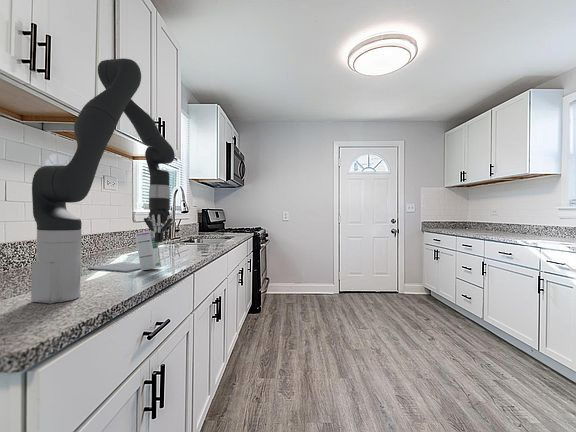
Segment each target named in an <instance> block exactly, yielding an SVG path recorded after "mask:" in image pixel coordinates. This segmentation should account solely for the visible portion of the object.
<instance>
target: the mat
mask: <svg viewBox="0 0 576 432" xmlns="http://www.w3.org/2000/svg"><path fill="white" fill-rule="evenodd" d="M88 269H94V270H93V271H101V270H105V271H104V272H114V271H116V272H117V273H132V272H137V271H142V270H141V268H140V263H131V262H116V263H109V264H103V265H96V266H93V267H87V270H88Z"/></svg>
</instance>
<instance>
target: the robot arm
mask: <svg viewBox="0 0 576 432" xmlns="http://www.w3.org/2000/svg"><path fill="white" fill-rule="evenodd" d="M97 76H98V78H99V80H100V83H101V84H102V86H103V87H104V89H105V90H103V91H102V92H100V93H99V94H97V95H96V96H94V97H92V99H90V100H89V101H88V102H87V103H86V104H85V105H84V106H83V107H82V109H81V110H80V112H79V114H78V115H77V117H76V119H75V121H74V123H73V124H74V125H73V132H74V133H73V134H74V136H75V140H76V145H77V147H76V150H75V152H74V155H73V157H72V158H71V160H70V161H69V162H68V164H66V165H43V166H40V167H38V168H37V170H36V171H35V172H34V174H33V177H32V182H31V200H32V201H31V202H32V214H33V215H32V216H33V218H34V220H35V223H36V246H35V247H36V249H35V250H36V252H35V253H36V256H35V258H36V259H35V261H32V263H31V282H30V283H31V287H30V288H31V290H30V291H31V292H30V295H31V296H30V299H31V300H30V301H31V302H32V303H33V302H35V303H43V304H55V303H60V302H68V301H72V300H76V299H78V298H80V297H81V277H82V276H81V275H82V273H81V269H82V267H81V265H82V261H81V260H82V220H81V218H80V217H77V216H75V215H73V214H71V212H69V211H68V209H67V204H68V203H70V204H71V203H79V202H81V201H83V200H84V199H85V198H86V197H87V196H88V194H89V192H90V190H91V189H92V185H93V183H94V179H95V177H96V173H97V170H98V167H99V164H100V162H101V159H102V157H103V155H104V154H105V153H104V152H105V151H106V148H107V145H108V143H109V142H110V140H111V138H112V136H113V135H114V132H115V130H116V128H117V125H118V123H119V121H120V119H121V117H122V115H123V114H125V116H126V117H127V118H128V120H129V121H130V123H131V124H132V126H133V128H134V130H135V131H136V133H137V135H138V136H139V138H140V140H141V142H142V143H143V144H144V145H145V146H147V147H146V149H145V151H144V157H145V161H146V165H147V168H148V172H149V189H148V209H149V213H148V216H147V217H144V218H143V221H144V223H145V224H146V226H147V227H148V229H149V231H154V232H155V241H156V243H163V242H164V234H165V232H168V231H169V230H170V228H171V227H172V226H173V224H174V222H175V221H176V219H175V218H174V217H172V216H171V213H170V209H171V189H170V172H169V171H168V170H166V169H161V168H160V165H166V164H167V165H169V164H171V163H172V162H174V160H175V156H176V155H175V150H174V148H173V146H172V145H171V144H170V143H169V142H168V141H167V139H166V138H165V137H164V136H163V135H162V134H161V132H160V131H159V128H158V125H156V122H155V121H154V119H153V118H152V116H151V115H150V114H149V113H148V112H147V111H146V110H144V109H143V107H141V106H140V105H139V104H138V103H137V102H135V101H134V100H133V99H132V98H133V97H134V95H135V94H136V93H137V91H138V89H139V87H140V85H141V82H142V70H141V68H140V66H139V65H138V63H137V62H136V61H134V60H133V59H131V58H113V59H112V58H111V59H104V60H101V61H100V62H99V63H98V65H97Z"/></svg>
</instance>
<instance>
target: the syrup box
mask: <svg viewBox="0 0 576 432" xmlns="http://www.w3.org/2000/svg"><path fill="white" fill-rule="evenodd" d="M135 239H136V246H137V253H138V258H139V259H138V260H139V264H140V268H141V270H140V271H148V270H153V269H157V268H160V267H162V262H161V257H160V250H159V249H160V248H159V244H158V243H156V241H155V232H154V231H151V230H145V231H140V232H136V233H135Z"/></svg>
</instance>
